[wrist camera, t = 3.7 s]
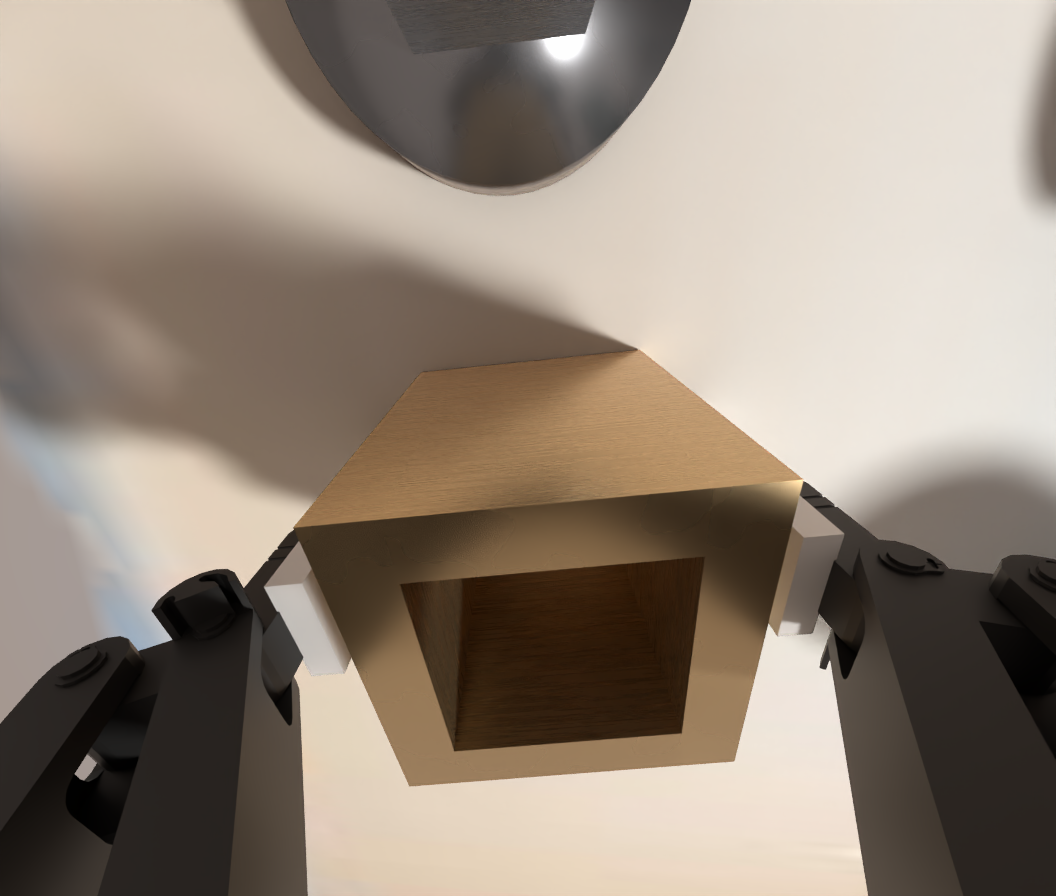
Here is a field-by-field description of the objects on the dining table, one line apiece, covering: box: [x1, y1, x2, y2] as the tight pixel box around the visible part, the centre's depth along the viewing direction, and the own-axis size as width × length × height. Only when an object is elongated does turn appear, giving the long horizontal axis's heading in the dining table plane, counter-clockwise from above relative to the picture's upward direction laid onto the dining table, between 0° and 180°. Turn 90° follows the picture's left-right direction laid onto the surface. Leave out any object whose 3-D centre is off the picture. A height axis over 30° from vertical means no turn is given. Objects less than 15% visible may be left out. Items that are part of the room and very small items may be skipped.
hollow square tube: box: [293, 350, 803, 786], centre depth 11 cm, size 7×7×8 cm
